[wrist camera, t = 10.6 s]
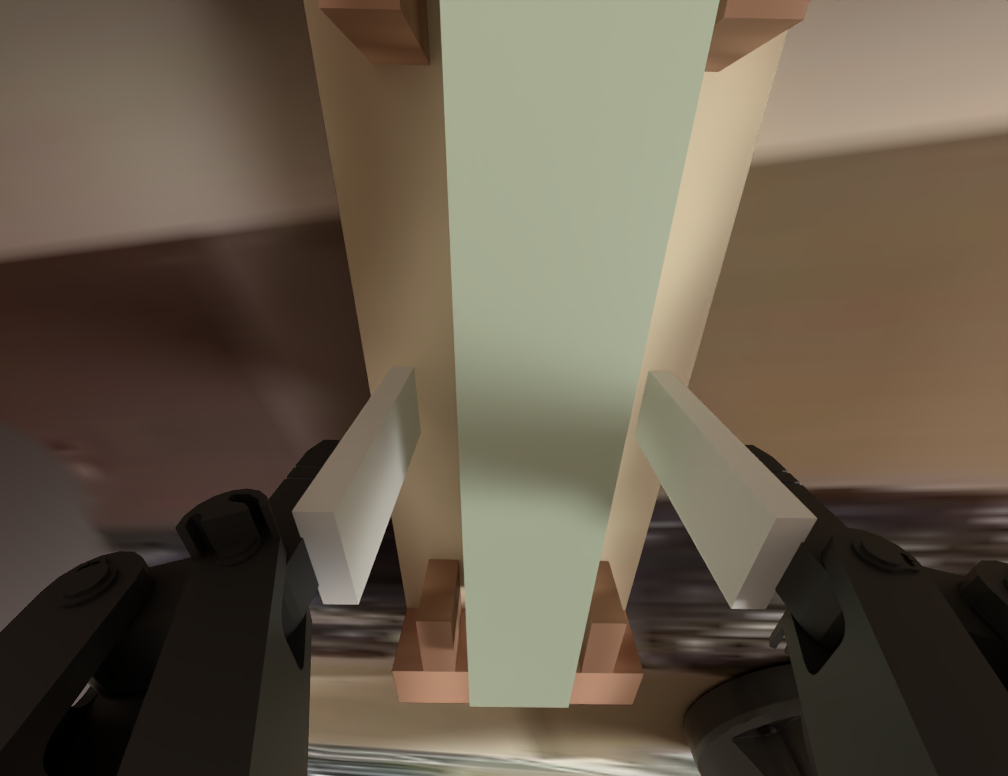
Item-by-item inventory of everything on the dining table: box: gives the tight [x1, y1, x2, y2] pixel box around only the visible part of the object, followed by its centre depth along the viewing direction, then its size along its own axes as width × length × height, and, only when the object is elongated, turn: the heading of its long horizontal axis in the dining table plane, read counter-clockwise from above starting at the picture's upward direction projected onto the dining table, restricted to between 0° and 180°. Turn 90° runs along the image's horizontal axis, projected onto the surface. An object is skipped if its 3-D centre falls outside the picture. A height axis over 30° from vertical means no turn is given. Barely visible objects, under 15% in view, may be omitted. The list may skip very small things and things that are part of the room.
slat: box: [440, 0, 720, 708], centre depth 11 cm, size 4×24×5 cm, turn 179°
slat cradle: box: [303, 0, 809, 704], centre depth 13 cm, size 12×33×4 cm, turn 179°
